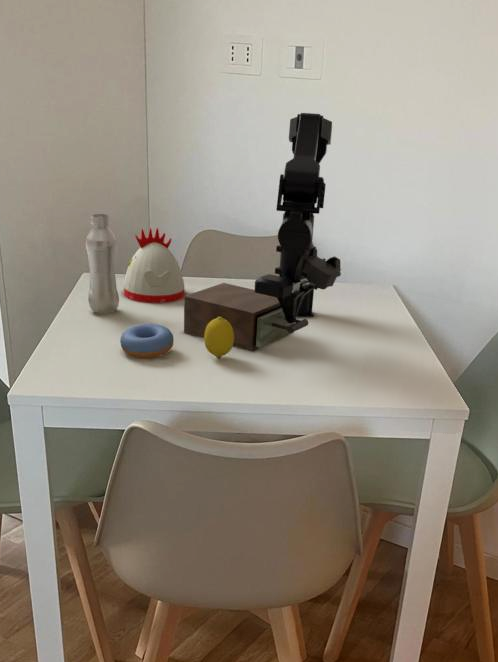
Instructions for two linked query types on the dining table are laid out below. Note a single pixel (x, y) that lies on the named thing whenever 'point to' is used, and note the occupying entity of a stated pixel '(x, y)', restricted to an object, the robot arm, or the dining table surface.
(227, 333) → the lemon
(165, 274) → the kitchen timer
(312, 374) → the dining table surface
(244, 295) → the cabinet
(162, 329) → the doughnut
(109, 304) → the plastic bottle
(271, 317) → the drawer
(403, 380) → the dining table surface
